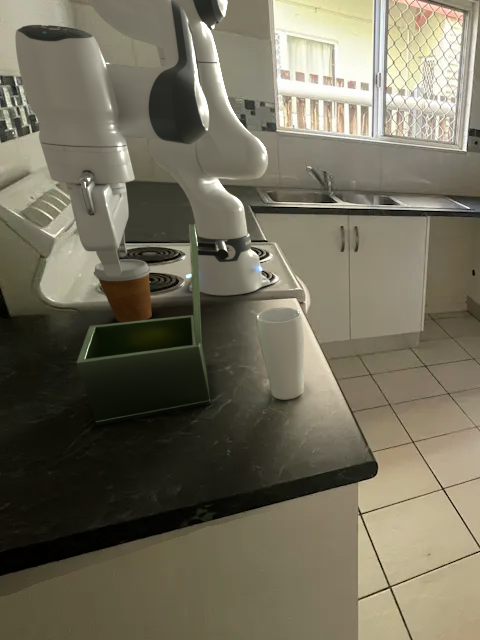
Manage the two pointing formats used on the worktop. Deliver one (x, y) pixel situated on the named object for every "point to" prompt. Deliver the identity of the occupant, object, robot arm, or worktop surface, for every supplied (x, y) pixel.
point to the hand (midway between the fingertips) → (117, 264)
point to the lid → (194, 252)
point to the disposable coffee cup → (127, 290)
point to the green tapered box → (143, 369)
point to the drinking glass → (282, 350)
